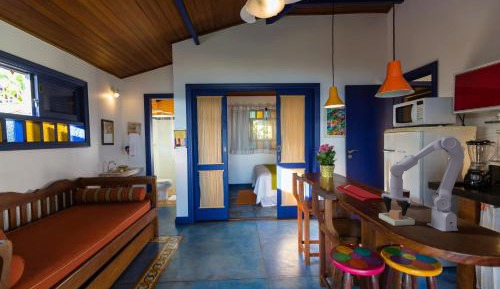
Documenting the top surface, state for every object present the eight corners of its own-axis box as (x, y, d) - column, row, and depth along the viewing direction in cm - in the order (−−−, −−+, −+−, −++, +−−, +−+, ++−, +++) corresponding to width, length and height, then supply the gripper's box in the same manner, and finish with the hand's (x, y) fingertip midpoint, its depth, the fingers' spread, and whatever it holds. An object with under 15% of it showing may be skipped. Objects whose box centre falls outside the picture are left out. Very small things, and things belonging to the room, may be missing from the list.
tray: (414, 224, 125) (414, 219, 125) (394, 225, 123) (394, 220, 123) (397, 216, 137) (397, 212, 137) (378, 218, 135) (378, 213, 135)
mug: (415, 209, 151) (415, 192, 150) (401, 209, 151) (401, 192, 150) (404, 204, 161) (405, 188, 161) (392, 204, 161) (392, 188, 161)
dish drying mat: (363, 202, 168) (363, 196, 168) (335, 189, 209) (335, 185, 209) (384, 201, 170) (385, 196, 170) (353, 188, 211) (353, 184, 210)
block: (403, 220, 129) (403, 210, 129) (398, 222, 127) (398, 212, 127) (394, 218, 133) (394, 208, 133) (389, 219, 131) (389, 210, 131)
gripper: (415, 189, 125) (415, 216, 126) (386, 184, 138) (386, 209, 138) (408, 191, 122) (407, 218, 122) (379, 186, 134) (379, 211, 135)
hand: (396, 213), depth 130 cm, fingers open, 7 cm apart
